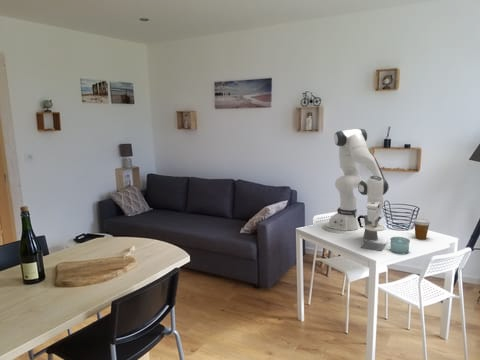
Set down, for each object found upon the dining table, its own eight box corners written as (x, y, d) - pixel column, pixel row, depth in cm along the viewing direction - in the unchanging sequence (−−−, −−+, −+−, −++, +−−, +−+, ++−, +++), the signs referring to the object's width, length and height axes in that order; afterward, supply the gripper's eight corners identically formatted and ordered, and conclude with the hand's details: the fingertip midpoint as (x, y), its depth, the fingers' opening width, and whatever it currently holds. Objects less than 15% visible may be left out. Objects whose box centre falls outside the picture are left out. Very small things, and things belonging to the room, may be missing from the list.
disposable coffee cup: (425, 235, 237) (426, 218, 235) (431, 240, 228) (432, 222, 226) (410, 235, 238) (411, 218, 236) (415, 240, 229) (417, 222, 227)
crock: (388, 252, 210) (388, 240, 209) (391, 246, 219) (392, 235, 218) (407, 255, 204) (408, 243, 203) (410, 249, 213) (411, 238, 212)
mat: (360, 247, 218) (360, 246, 218) (365, 241, 228) (365, 241, 228) (381, 251, 212) (381, 250, 211) (385, 245, 221) (385, 244, 221)
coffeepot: (379, 236, 238) (380, 210, 235) (382, 241, 229) (383, 214, 226) (355, 235, 240) (356, 210, 237) (357, 240, 231) (358, 213, 228)
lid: (362, 229, 216) (362, 221, 215) (366, 224, 225) (367, 217, 225) (382, 232, 210) (382, 224, 209) (386, 227, 219) (386, 219, 218)
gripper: (373, 199, 225) (373, 220, 228) (365, 206, 208) (364, 228, 211) (384, 200, 222) (383, 221, 224) (376, 207, 205) (376, 230, 207)
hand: (374, 225), depth 217 cm, fingers closed on lid, 3 cm apart
